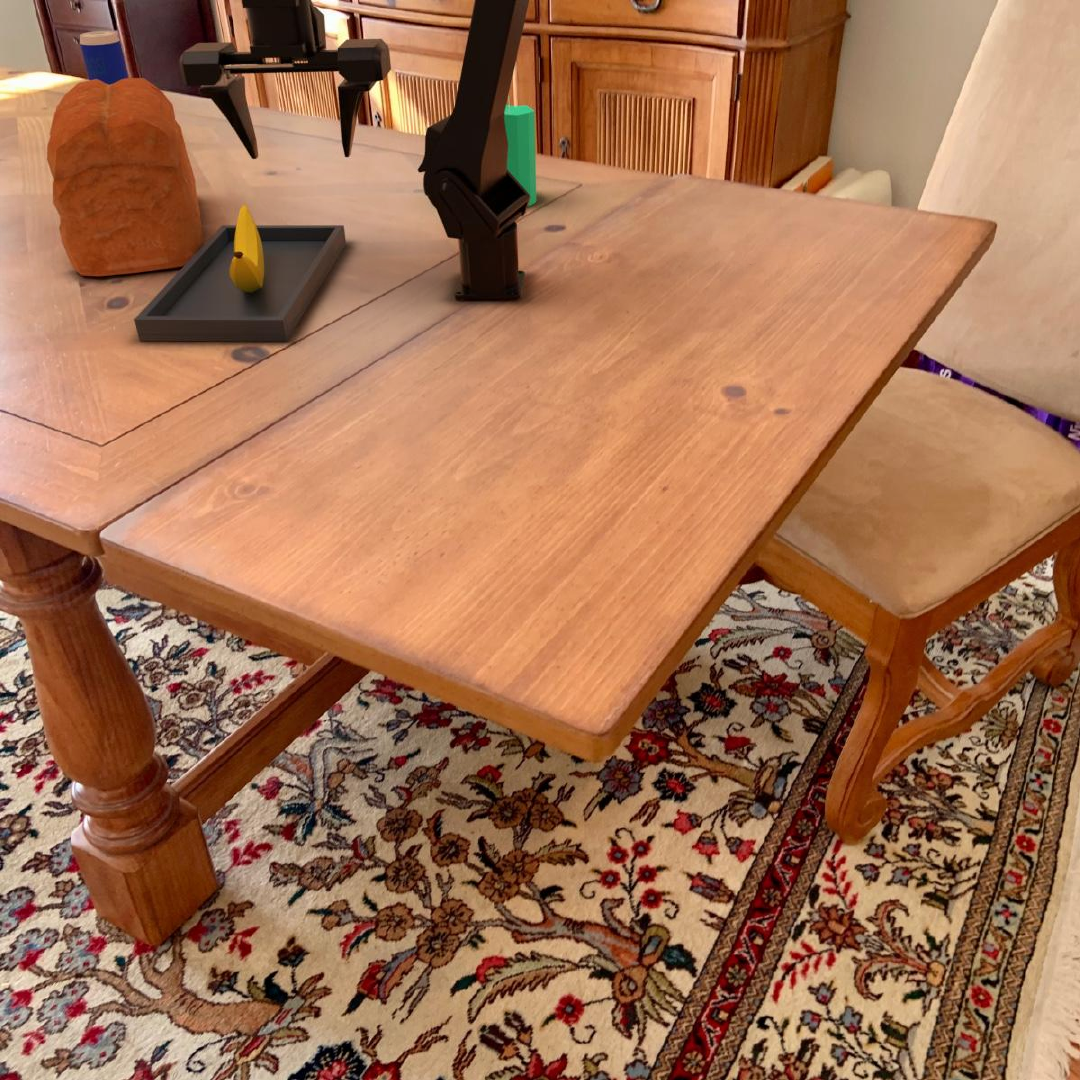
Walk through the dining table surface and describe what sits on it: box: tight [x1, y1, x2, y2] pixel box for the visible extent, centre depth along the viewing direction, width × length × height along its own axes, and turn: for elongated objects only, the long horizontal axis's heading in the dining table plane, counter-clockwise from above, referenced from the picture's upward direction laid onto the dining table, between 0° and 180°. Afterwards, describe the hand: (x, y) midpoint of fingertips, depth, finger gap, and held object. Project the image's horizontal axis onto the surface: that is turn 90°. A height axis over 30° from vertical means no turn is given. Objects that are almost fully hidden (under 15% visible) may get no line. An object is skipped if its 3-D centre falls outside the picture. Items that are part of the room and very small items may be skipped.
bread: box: [46, 77, 204, 277], centre depth 112 cm, size 14×27×15 cm, turn 18°
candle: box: [504, 94, 537, 207], centre depth 121 cm, size 6×6×12 cm
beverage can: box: [79, 30, 129, 85], centre depth 143 cm, size 5×5×15 cm
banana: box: [229, 204, 264, 293], centre depth 100 cm, size 3×19×6 cm, turn 12°
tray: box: [133, 224, 347, 343], centre depth 102 cm, size 26×14×2 cm, turn 177°
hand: (301, 157), depth 101 cm, fingers open, 9 cm apart
